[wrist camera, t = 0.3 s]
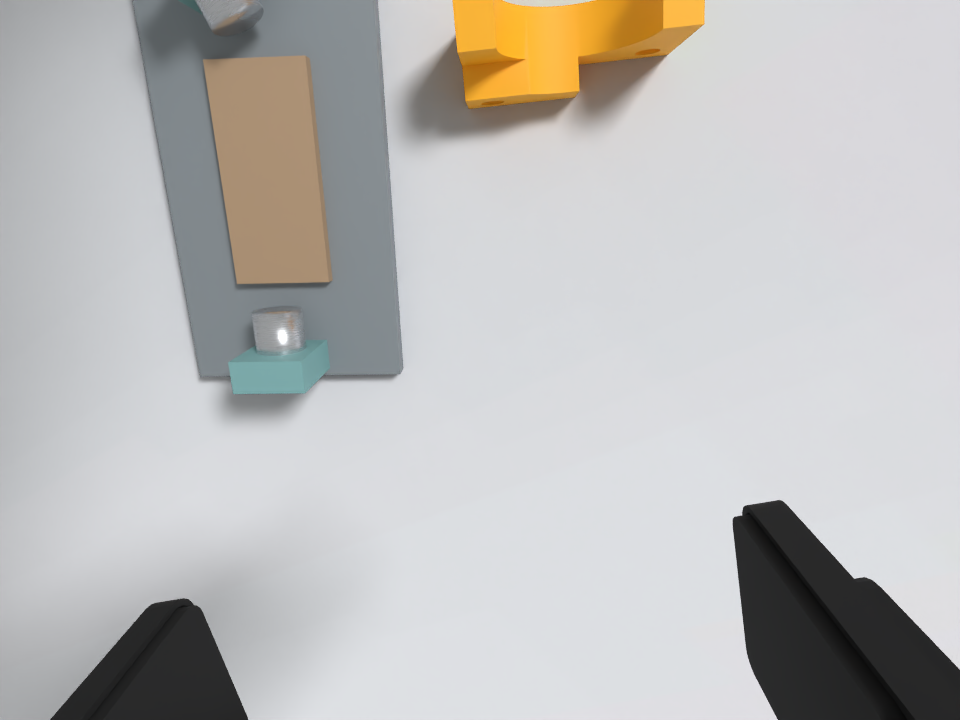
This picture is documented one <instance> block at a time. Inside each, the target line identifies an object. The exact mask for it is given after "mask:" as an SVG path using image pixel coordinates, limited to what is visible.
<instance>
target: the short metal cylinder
mask: <svg viewBox="0 0 960 720" xmlns="http://www.w3.org/2000/svg"><path fill="white" fill-rule="evenodd" d="M195 1H196V3H197V5H198V7H199V9H200V10H201V12H202V14H203V16H204V18H205V19H206V21H207V23H208V25H209V27H210V28H211V30H212V32H213V33H214V34H215V35H218V36H231V35H235V34H239V33H241V32H244V31H246V30H248V29H249V28H251V27H252V26H254V25H255V24H256V23H257V22H258V21H259V20H260V19H261V17H262V16H263V13H264V10H263V7H262V5H261V4H260V2H259V0H195Z"/></svg>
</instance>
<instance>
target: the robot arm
mask: <svg viewBox="0 0 960 720" xmlns="http://www.w3.org/2000/svg"><path fill="white" fill-rule="evenodd" d="M742 515H743V516H737V517H734V518H733V532H734V541H735V550H736V559H737V569H738V578H739V587H740V596H741V605H742V614H743V624H744V633H745V642H746V650H747V655H748V659H749V662H750V665H751V667H752V670H753V672H754V675H755V677H756V679H757V680H758V682H759V684H760V686H761V688H762V690H763V692H764V694H765V696H766V698H767V700H768V702H769V704H770V705H771V707H772V709H773V711H774V713H775V715H776V717H777V719H778V720H960V670H959V669H958V667H957V666H956V665H955V664H954V663H953V662H952V661H951V660H950V659H949V658H948V657H947V656H946V655H945V654H944V653H943V652H942V651H941V650H940V649H939V648H938V647H937V646H936V645H935V643H934V642H933V641H932V640H931V639H930V638H929V637H928V636H927V635H926V634H925V633H924V632H923V631H922V630H921V629H920V628H919V627H918V626H917V625H916V624H915V623H914V622H913V620H912V619H911V618H910V617H909V616H908V615H907V614H906V613H905V612H904V611H903V610H902V609H901V608H900V607H899V606H898V605H897V604H896V603H895V602H894V601H893V600H892V599H891V598H890V596H889V595H888V594H887V593H886V592H885V591H884V590H883V589H882V588H881V587H880V586H879V585H877V584H876V583H875V582H874V581H873V580H870V579H868V578H865V577H863V578H857V579H854V578H853V577H852V576H851V575H850V574H849V573H848V572H847V570H846V569H845V568H844V567H843V566H842V565H841V564H840V563H839V562H838V561H837V559H836V558H835V557H834V556H833V555H832V554H831V553H830V552H829V551H828V550H827V549H826V547H825V546H824V545H823V544H822V543H821V542H820V541H819V540H818V539H817V538H816V536H815V535H814V534H813V533H812V532H811V531H810V530H809V529H808V528H807V527H806V525H805V524H804V523H803V522H802V521H801V520H800V519H799V518H798V517H797V516H796V514H795V513H794V512H793V511H792V510H791V509H790V508H789V507H788V506H787V505H786V504H785V503H784V502H783V501H781V500H777V501H771V502H765V503H759V504H753V505H747V506H744V507H743V511H742ZM50 720H248V717H247V715H246V713H245V710H244V708H243V706H242V703H241V701H240V698H239V696H238V694H237V691H236V689H235V687H234V684H233V682H232V680H231V677H230V675H229V673H228V670H227V668H226V666H225V663H224V661H223V659H222V656H221V654H220V652H219V649H218V647H217V645H216V642H215V640H214V638H213V635H212V633H211V631H210V628H209V626H208V623H207V621H206V619H205V616H204V614H203V612H202V610H201V609H200V608H199V607H198V606H195V605H193V603H192V602H191V601H190V600H188V599H177V600H171V601H165V602H159V603H155V604H152V605H150V606H149V607H148V608H147V609H146V610H145V611H144V612H143V613H142V614H141V615H140V617H139V618H138V619H137V620H136V621H135V622H134V623H133V625H132V626H131V627H130V628H129V629H128V630H127V632H126V633H125V634H124V635H123V636H122V637H121V638H120V640H119V641H118V642H117V643H116V644H115V645H114V647H113V648H112V649H111V650H110V651H109V652H108V654H107V655H106V656H105V657H104V658H103V659H102V660H101V662H100V663H99V664H98V665H97V666H96V667H95V669H94V670H93V671H92V672H91V673H90V674H89V675H88V677H87V678H86V679H85V680H84V681H83V682H82V684H81V685H80V686H79V687H78V688H77V689H76V691H75V692H74V693H73V694H72V695H71V696H70V697H69V699H68V700H67V701H66V702H65V703H64V704H63V706H62V707H61V708H60V709H59V710H58V711H57V712H56V714H55V715H54V716H53V717H52V718H51V719H50Z"/></svg>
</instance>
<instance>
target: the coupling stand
mask: <svg viewBox="0 0 960 720" xmlns="http://www.w3.org/2000/svg"><path fill="white" fill-rule="evenodd" d="M259 2H260V4H261V5H262V7H263V10H264V13H263V16H262V17H261V19H260V20H259V21H258V22H257V23H256V24H255V25H254V26H252V27H251V28H249V29H248V30H246V31H244V32H241V33H239V34H235V35H231V36H218V35H215V34H214V33H213V32H212V30H211V28H210V27H209V25H208V23H207V21H206V19H205V18H204V16H203V14H202V12H201V10H200V9H199V7H198V5H197V3H196V1H195V0H133V5H134V11H135V17H136V22H137V28H138V33H139V39H140V44H141V50H142V56H143V61H144V67H145V72H146V78H147V83H148V89H149V94H150V100H151V106H152V111H153V117H154V122H155V128H156V133H157V139H158V145H159V150H160V156H161V161H162V167H163V172H164V178H165V183H166V189H167V195H168V200H169V206H170V211H171V217H172V222H173V228H174V234H175V239H176V245H177V250H178V256H179V261H180V267H181V272H182V278H183V284H184V289H185V295H186V300H187V306H188V311H189V317H190V323H191V328H192V334H193V339H194V345H195V350H196V356H197V361H198V367H199V373H200V377H205V376H230V377H231V383H232V389H233V394H282V393H306V392H307V391H308V390H309V389H310V388H311V387H312V386H313V385H314V384H315V383H316V382H317V381H318V380H319V379H320V378H321V377H322V376H323V375H368V374H400V373H401V372H402V370H403V359H402V344H401V330H400V316H399V301H398V287H397V272H396V258H395V244H394V229H393V215H392V200H391V186H390V171H389V157H388V143H387V128H386V114H385V99H384V85H383V71H382V56H381V42H380V27H379V13H378V0H259ZM278 306H296V307H300V308H302V314H303V323H304V331H305V339H306V349H304V350H303V351H300V352H297V353H294V354H289V355H282V356H263V355H259V354H257V350H256V344H255V337H254V330H253V323H252V316H251V312H253V311H255V310H258V309H263V308H269V307H278Z"/></svg>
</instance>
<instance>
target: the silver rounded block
mask: <svg viewBox="0 0 960 720" xmlns="http://www.w3.org/2000/svg"><path fill="white" fill-rule="evenodd" d="M251 316H252V323H253V330H254V337H255V344H256V350H257V354H259V355H263V356H282V355H289V354H294V353H297V352H300V351H303V350H304V349H306V339H305V331H304V323H303V314H302V308H300V307H296V306H278V307H269V308H263V309H258V310H255V311H253V312H251Z"/></svg>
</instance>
